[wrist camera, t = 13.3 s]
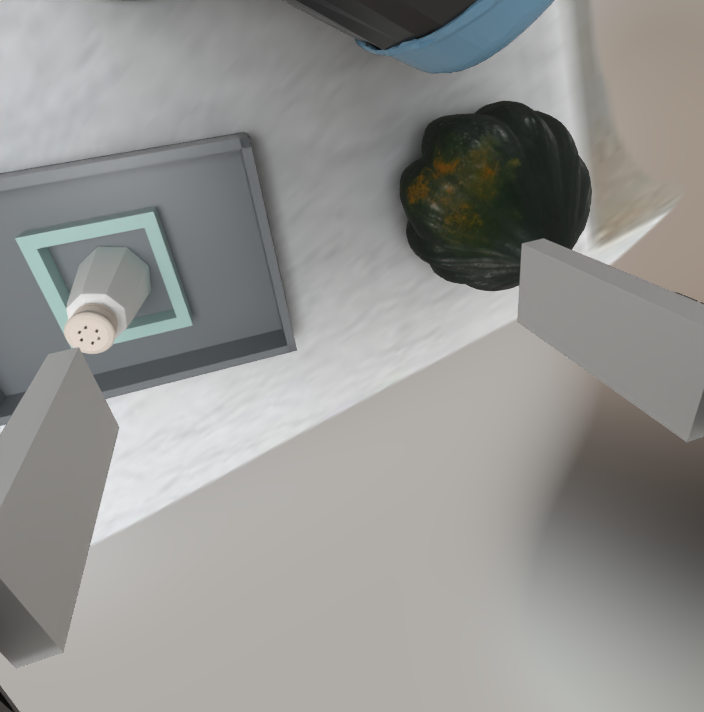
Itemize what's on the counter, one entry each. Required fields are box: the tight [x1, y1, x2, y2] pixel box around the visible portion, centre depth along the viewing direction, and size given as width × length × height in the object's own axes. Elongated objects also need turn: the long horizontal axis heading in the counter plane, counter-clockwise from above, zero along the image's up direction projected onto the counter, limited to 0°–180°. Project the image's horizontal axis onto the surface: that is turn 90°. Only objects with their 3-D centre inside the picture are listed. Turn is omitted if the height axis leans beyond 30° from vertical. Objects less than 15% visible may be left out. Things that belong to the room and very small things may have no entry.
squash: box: [400, 101, 592, 291], centre depth 38 cm, size 14×15×15 cm
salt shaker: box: [64, 247, 151, 354], centre depth 33 cm, size 5×5×11 cm
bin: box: [0, 132, 297, 426], centre depth 37 cm, size 17×25×4 cm
